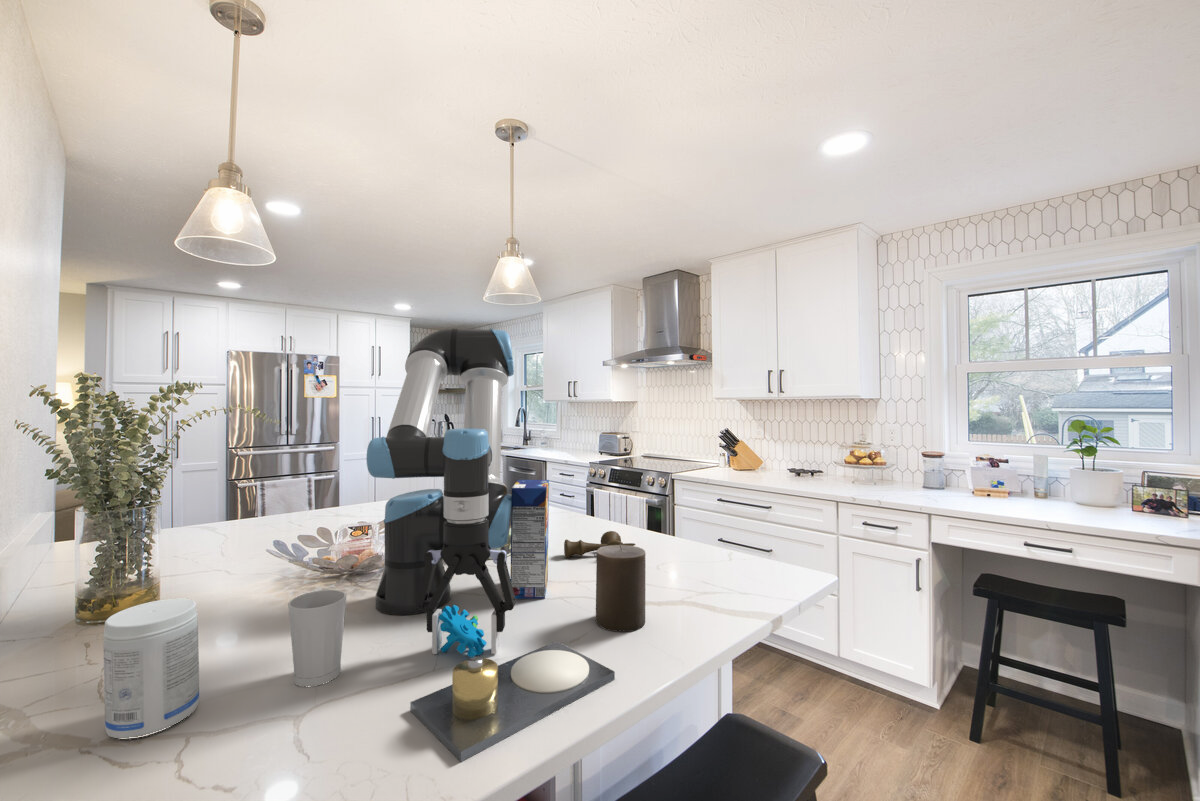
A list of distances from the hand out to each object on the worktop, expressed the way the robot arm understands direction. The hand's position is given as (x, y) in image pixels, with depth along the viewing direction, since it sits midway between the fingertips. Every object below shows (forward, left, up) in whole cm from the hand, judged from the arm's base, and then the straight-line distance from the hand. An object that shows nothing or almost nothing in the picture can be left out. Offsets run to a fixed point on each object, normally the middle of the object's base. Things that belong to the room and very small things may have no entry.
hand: (466, 650), depth 87 cm
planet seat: (+15, -9, +1) cm, 18 cm away
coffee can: (-7, +56, 0) cm, 57 cm away
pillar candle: (+27, +12, 0) cm, 30 cm away
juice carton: (+7, +29, 0) cm, 30 cm away
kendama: (+23, +54, -1) cm, 59 cm away
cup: (-21, -8, 0) cm, 22 cm away
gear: (0, 0, -1) cm, 1 cm away
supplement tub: (-37, -19, 0) cm, 42 cm away
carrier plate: (+11, -13, 0) cm, 17 cm away
